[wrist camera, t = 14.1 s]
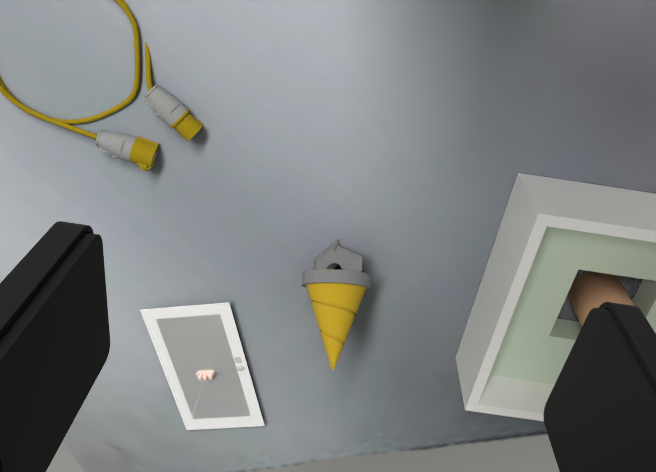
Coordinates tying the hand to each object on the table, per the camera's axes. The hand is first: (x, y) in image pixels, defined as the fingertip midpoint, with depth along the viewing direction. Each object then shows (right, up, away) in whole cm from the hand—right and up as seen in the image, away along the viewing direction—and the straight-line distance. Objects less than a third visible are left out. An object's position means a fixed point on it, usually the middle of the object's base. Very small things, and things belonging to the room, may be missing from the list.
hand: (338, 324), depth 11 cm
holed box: (+21, -3, +36) cm, 42 cm away
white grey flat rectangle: (-11, -10, +43) cm, 46 cm away
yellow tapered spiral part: (+1, -1, +37) cm, 37 cm away
